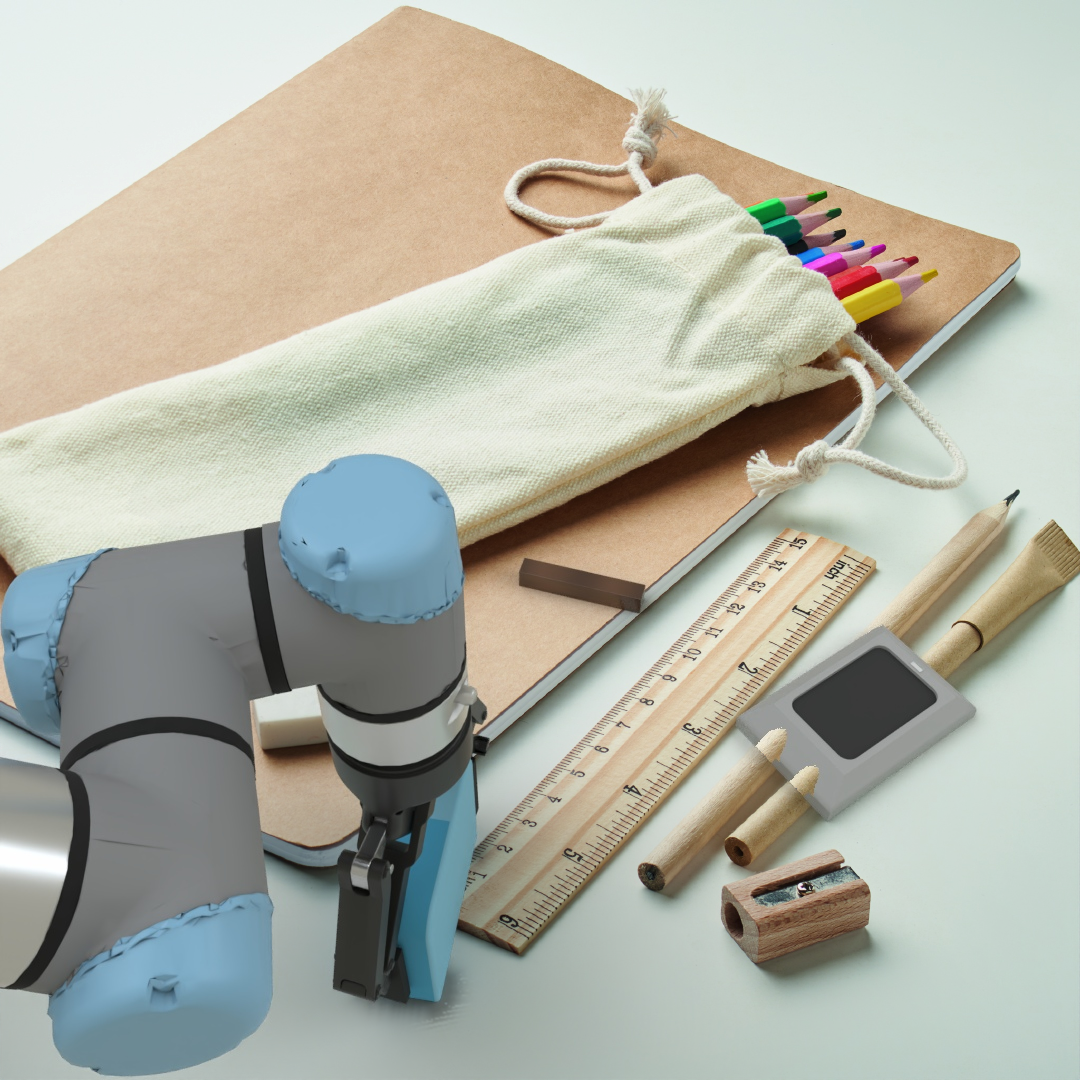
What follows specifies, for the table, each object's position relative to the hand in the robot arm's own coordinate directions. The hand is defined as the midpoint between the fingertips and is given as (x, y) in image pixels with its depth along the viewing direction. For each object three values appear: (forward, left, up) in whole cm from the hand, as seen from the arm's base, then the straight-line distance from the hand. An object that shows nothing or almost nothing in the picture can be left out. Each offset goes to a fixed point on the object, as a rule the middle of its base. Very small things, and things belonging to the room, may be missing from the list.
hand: (424, 895), depth 78 cm
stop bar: (-5, +28, -3) cm, 29 cm away
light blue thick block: (0, 0, -3) cm, 3 cm away
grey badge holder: (+19, +28, -3) cm, 34 cm away
